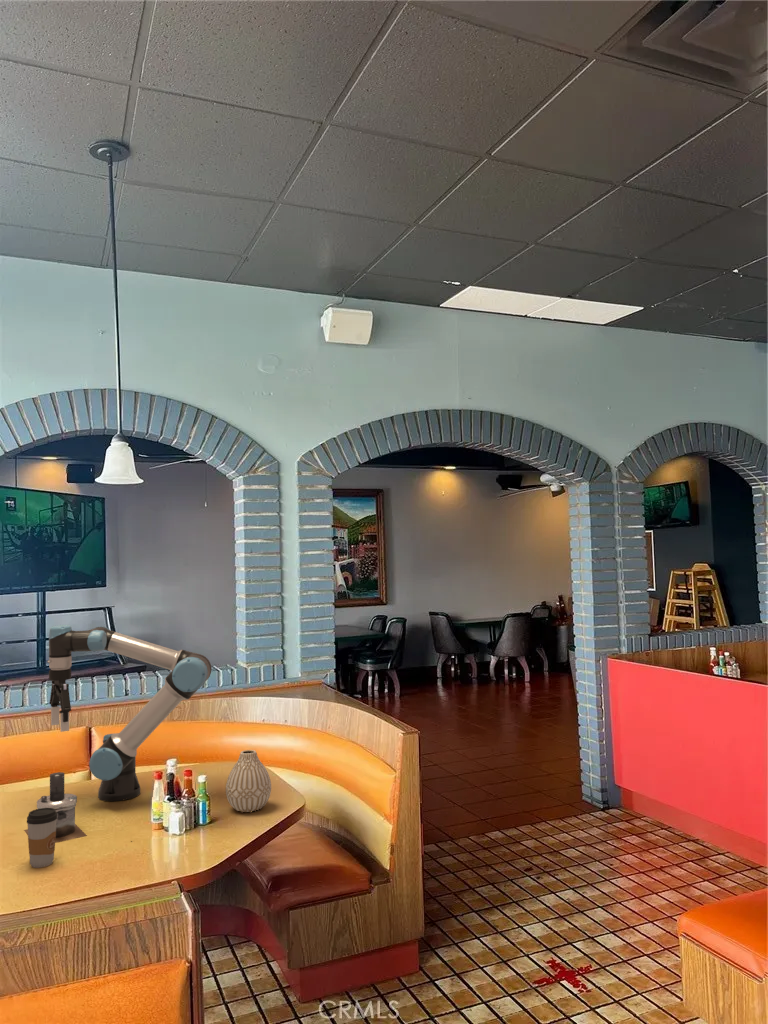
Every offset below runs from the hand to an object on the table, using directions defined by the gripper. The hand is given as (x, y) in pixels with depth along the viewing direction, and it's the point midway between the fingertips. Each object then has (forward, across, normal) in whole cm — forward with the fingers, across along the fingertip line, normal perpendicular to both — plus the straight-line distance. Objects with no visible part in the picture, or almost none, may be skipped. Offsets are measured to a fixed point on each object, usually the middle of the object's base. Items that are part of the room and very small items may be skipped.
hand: (59, 727), depth 279 cm
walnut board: (+29, +28, -8) cm, 41 cm away
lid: (+19, +28, -8) cm, 34 cm away
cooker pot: (+28, +28, -8) cm, 40 cm away
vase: (+29, +44, +53) cm, 75 cm away
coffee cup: (+29, +50, -17) cm, 60 cm away
